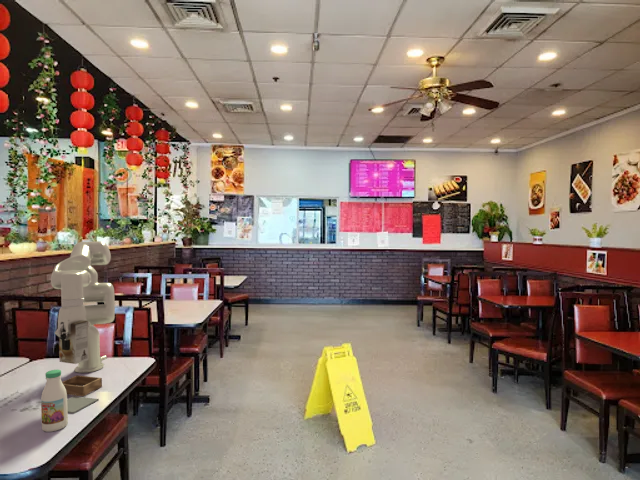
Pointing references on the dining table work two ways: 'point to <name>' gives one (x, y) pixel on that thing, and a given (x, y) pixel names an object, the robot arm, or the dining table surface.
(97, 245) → the robot arm
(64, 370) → the dining table surface
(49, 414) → the milk bottle
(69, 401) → the mat
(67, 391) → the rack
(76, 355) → the coffee box
